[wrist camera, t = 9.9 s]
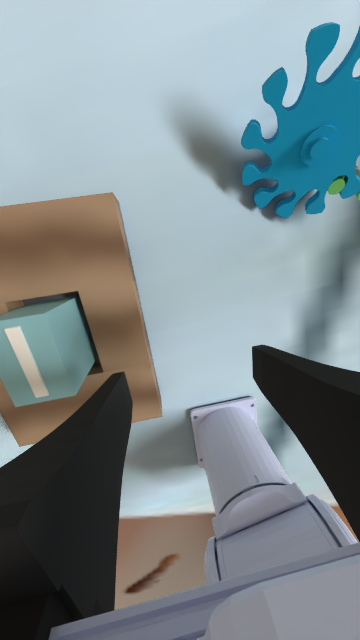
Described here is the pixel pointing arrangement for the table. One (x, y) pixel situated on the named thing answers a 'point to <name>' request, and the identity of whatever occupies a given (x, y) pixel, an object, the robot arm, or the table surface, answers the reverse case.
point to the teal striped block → (45, 350)
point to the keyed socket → (95, 293)
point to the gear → (310, 131)
